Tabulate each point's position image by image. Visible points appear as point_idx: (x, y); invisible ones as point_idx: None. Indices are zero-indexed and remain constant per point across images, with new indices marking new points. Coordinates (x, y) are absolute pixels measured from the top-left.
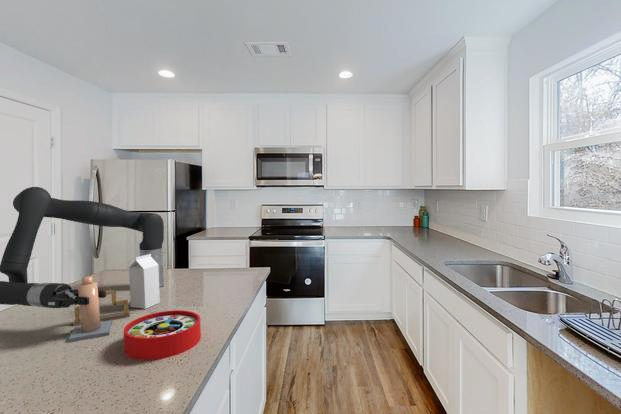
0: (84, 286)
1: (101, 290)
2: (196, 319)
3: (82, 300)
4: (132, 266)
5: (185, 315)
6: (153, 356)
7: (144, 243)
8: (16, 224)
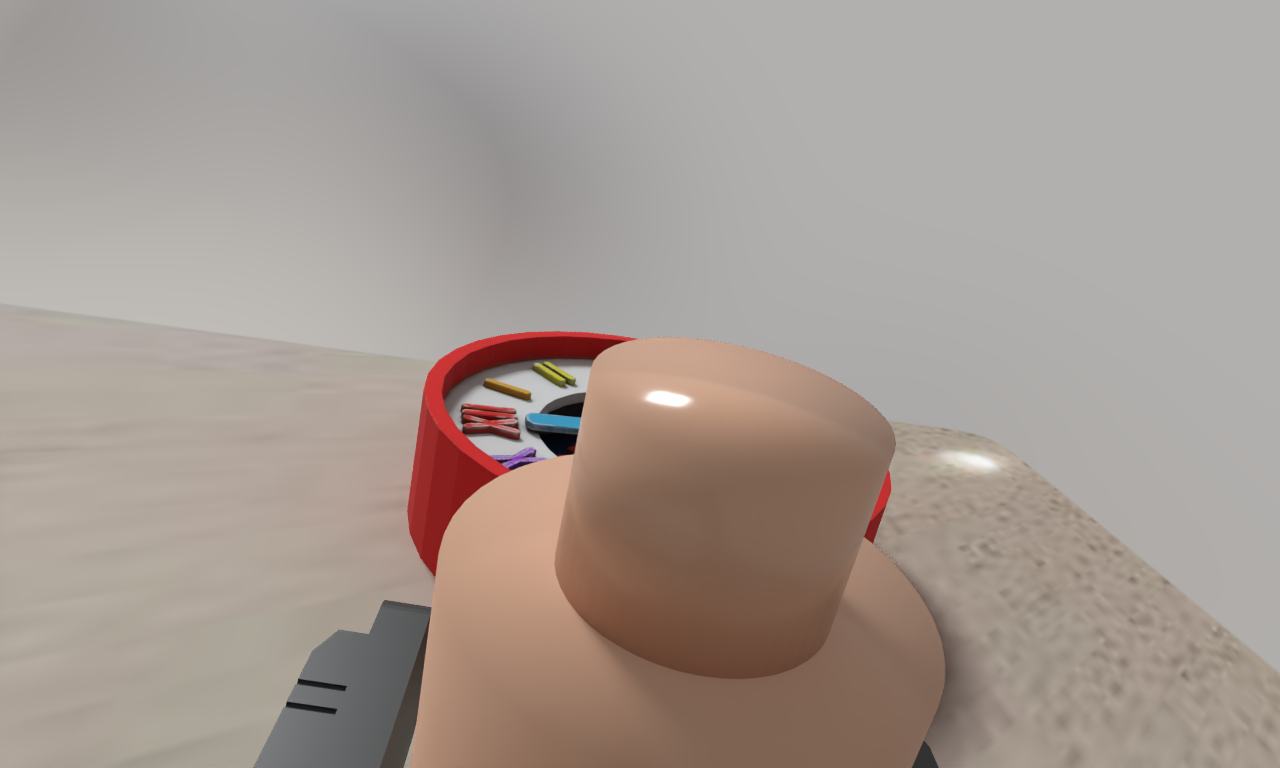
0: (878, 565)
1: (379, 653)
2: (525, 359)
3: (920, 755)
4: None
5: (453, 389)
6: None
7: None
8: None
